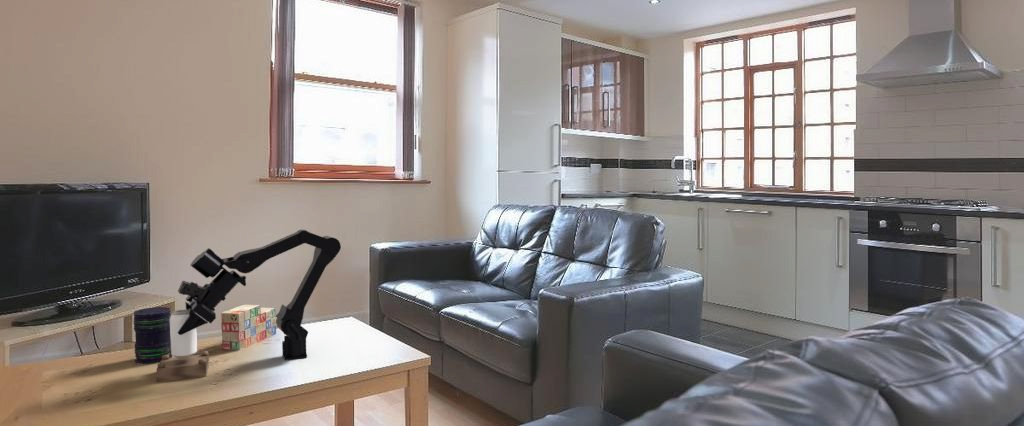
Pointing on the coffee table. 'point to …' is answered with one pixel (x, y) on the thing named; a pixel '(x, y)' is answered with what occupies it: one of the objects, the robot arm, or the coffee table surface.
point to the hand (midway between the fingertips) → (177, 331)
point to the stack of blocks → (246, 326)
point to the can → (186, 341)
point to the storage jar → (152, 334)
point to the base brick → (183, 367)
